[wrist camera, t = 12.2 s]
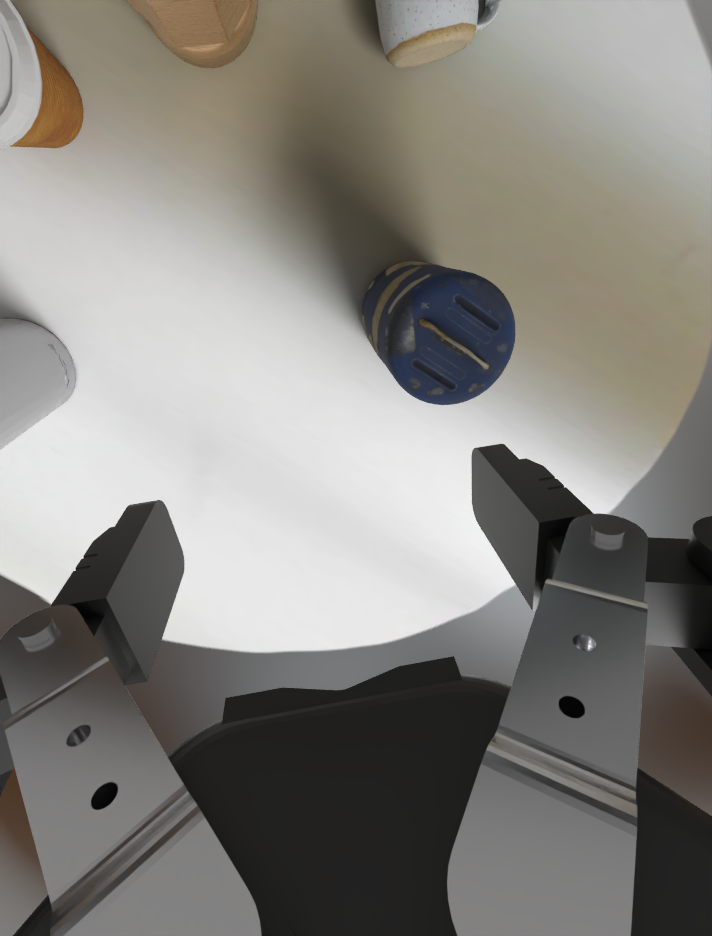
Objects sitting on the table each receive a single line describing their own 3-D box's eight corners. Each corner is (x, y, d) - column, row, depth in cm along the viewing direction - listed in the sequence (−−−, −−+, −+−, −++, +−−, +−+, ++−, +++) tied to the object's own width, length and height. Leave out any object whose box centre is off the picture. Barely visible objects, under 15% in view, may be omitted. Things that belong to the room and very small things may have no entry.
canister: (399, 375, 50) (447, 441, 34) (339, 309, 46) (361, 349, 31) (468, 311, 48) (554, 350, 32) (411, 236, 44) (475, 238, 28)
